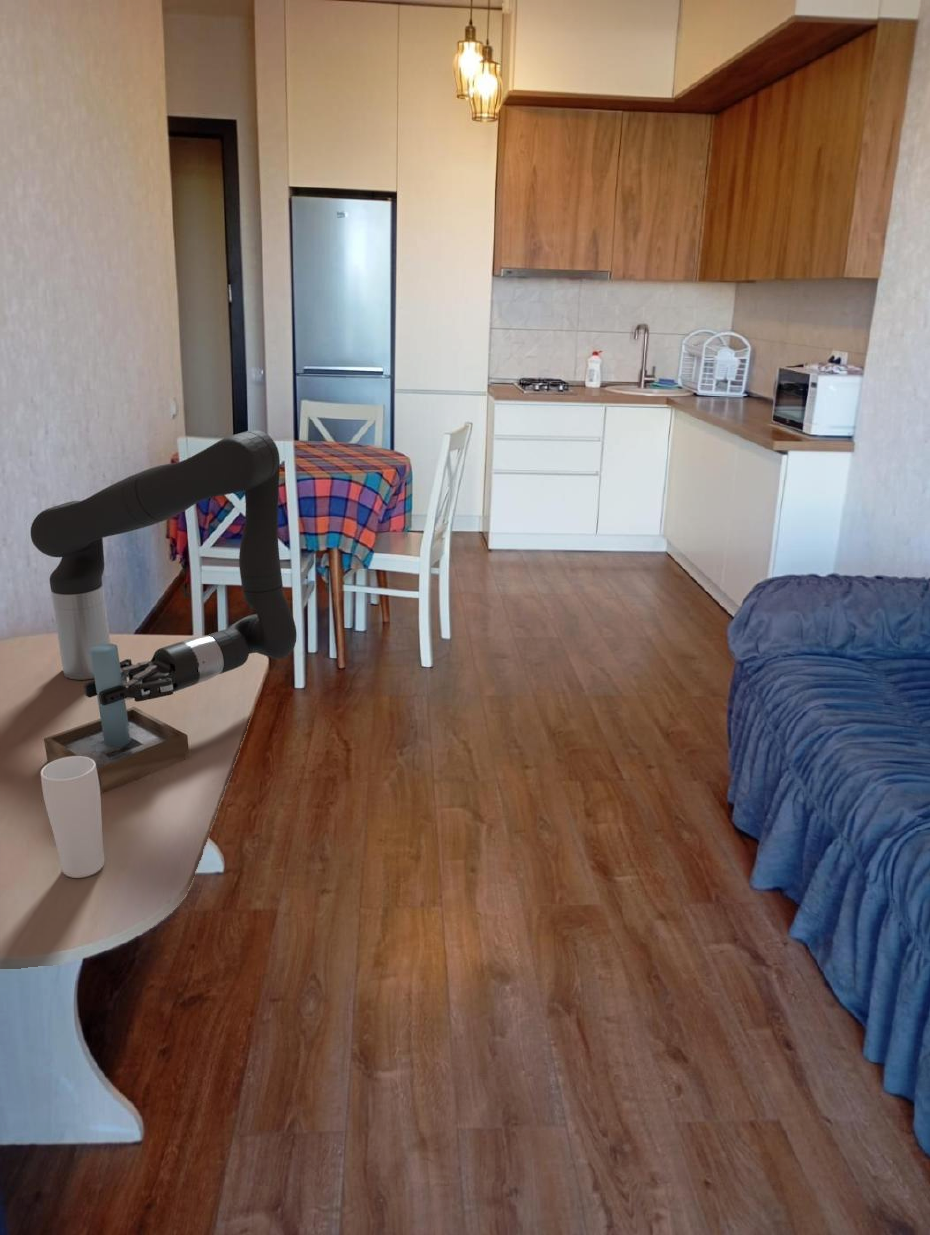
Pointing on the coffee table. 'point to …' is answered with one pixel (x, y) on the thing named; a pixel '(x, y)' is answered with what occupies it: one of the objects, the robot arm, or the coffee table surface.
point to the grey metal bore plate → (97, 749)
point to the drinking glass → (75, 813)
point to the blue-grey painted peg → (105, 678)
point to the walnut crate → (133, 763)
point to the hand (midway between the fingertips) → (93, 695)
